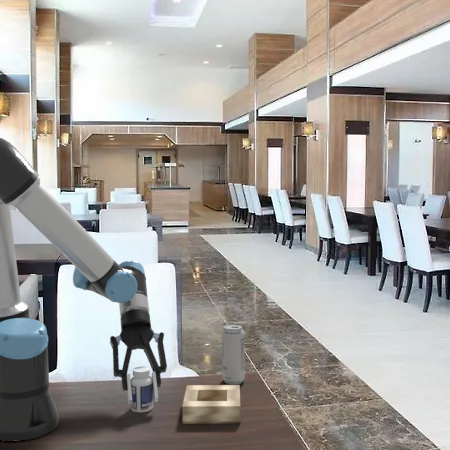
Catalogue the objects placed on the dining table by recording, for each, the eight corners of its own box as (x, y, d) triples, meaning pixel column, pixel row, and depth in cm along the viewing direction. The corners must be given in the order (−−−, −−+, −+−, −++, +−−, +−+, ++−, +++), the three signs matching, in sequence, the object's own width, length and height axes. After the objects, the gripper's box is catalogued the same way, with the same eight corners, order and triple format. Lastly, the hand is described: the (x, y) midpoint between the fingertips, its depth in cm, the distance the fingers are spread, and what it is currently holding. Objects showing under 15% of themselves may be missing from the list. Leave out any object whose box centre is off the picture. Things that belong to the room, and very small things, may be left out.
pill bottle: (155, 404, 142) (154, 365, 142) (150, 413, 137) (149, 373, 136) (133, 403, 143) (132, 365, 142) (128, 412, 138) (127, 372, 137)
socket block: (182, 423, 131) (182, 406, 131) (187, 400, 144) (186, 385, 144) (240, 423, 131) (240, 406, 131) (239, 400, 144) (239, 385, 144)
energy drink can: (222, 377, 161) (222, 323, 159) (244, 377, 161) (244, 323, 159) (221, 385, 155) (221, 329, 153) (244, 385, 155) (244, 329, 153)
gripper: (168, 320, 156) (180, 403, 141) (98, 325, 151) (103, 411, 137) (171, 305, 150) (184, 390, 136) (98, 310, 145) (103, 398, 131)
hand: (143, 400), depth 136 cm, fingers closed on pill bottle, 5 cm apart
